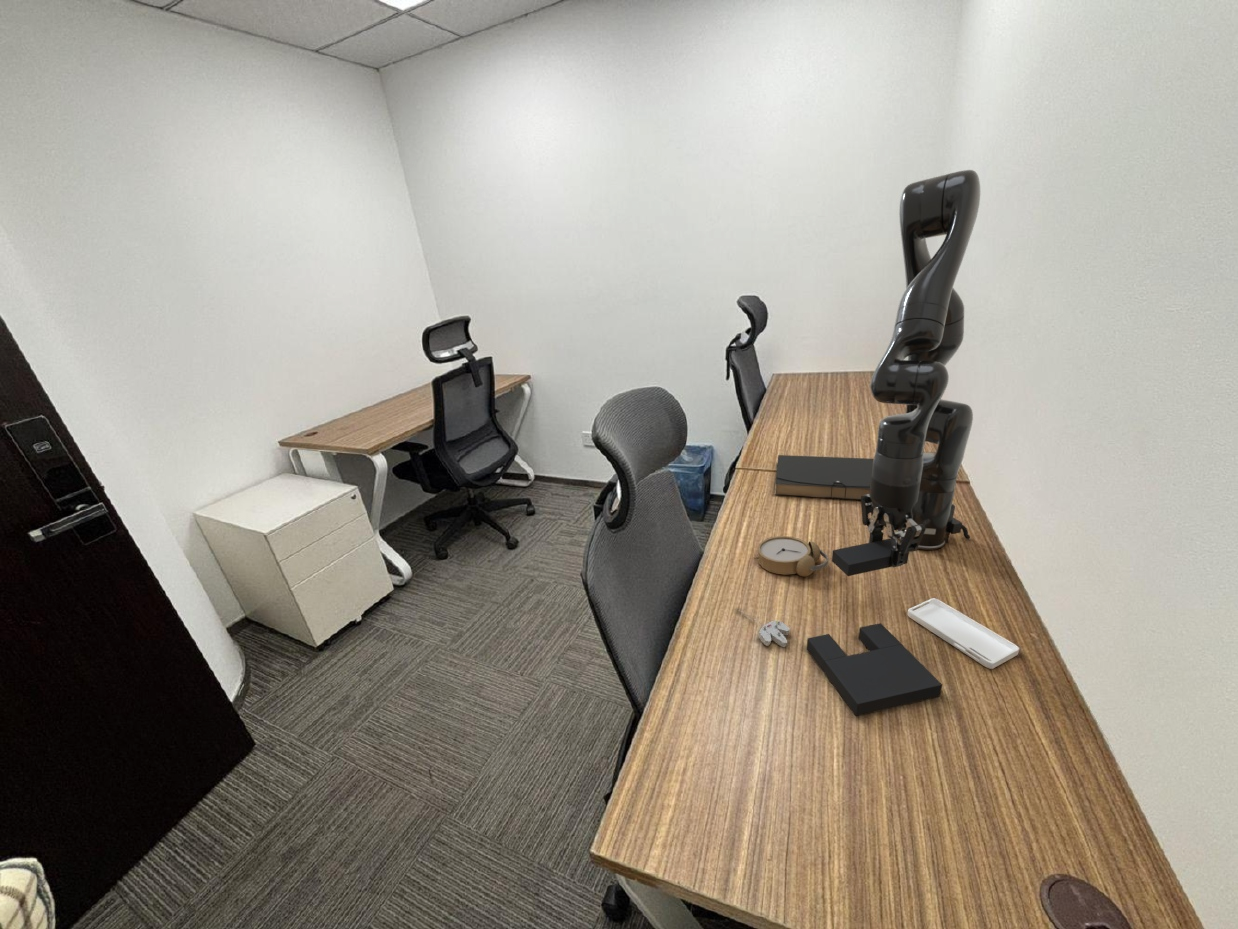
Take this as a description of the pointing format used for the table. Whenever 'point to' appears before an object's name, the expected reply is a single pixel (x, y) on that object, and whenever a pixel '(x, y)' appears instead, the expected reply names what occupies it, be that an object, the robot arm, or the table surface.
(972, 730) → the table surface
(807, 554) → the alarm clock
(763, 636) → the game controller
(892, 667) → the notched pad
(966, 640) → the phone case
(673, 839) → the table surface
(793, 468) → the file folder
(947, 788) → the table surface
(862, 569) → the pad strip
